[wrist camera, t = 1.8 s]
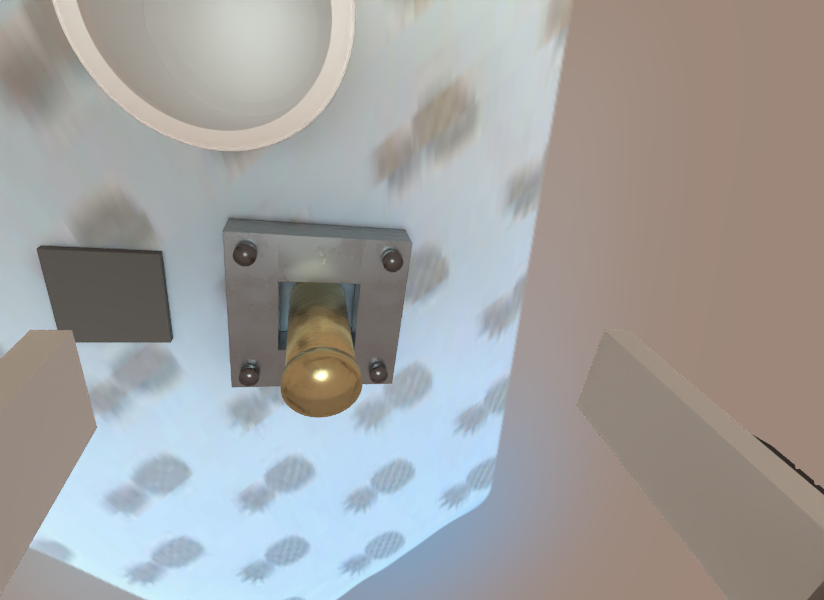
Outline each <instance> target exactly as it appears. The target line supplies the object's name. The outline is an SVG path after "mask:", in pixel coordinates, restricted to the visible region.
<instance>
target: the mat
mask: <svg viewBox="0 0 824 600" xmlns="http://www.w3.org/2000/svg"><path fill="white" fill-rule="evenodd" d="M37 252H38V256H39V260H40V264H41V268H42V272H43V275H44V279H45V283H46V287H47V291H48V295H49V299H50V302H51V306H52V310H53V314H54V318H55V322H56V326H57V329H58V330H72V332H73V336H74V340H75V342H171V341H172V339H173V337H172V329H171V321H170V312H169V304H168V296H167V288H166V280H165V272H164V264H163V256H162V251H141V250H119V249H97V248H75V247H53V246H40V247H39V248H37Z"/></svg>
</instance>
